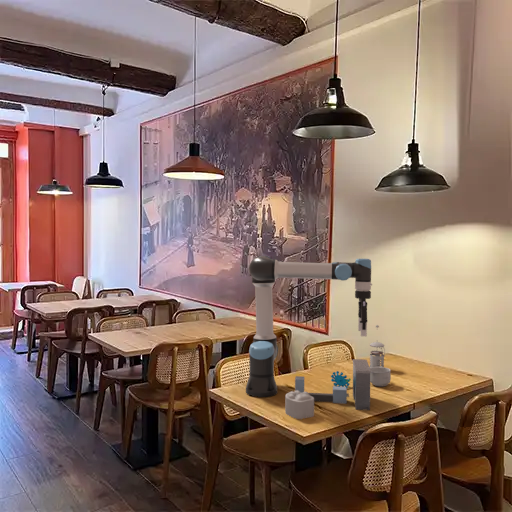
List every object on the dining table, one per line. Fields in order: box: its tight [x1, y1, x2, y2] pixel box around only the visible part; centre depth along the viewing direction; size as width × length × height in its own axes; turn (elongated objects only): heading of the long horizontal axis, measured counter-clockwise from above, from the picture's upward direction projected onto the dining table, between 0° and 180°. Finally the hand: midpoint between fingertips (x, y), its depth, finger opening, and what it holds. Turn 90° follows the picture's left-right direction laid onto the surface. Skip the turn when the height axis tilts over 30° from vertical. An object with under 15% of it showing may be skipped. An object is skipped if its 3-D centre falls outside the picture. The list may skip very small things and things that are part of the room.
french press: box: [369, 324, 386, 368], centre depth 279 cm, size 10×12×25 cm
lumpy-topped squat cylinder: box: [284, 390, 315, 420], centre depth 208 cm, size 10×13×9 cm
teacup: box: [370, 366, 392, 387], centre depth 250 cm, size 14×11×8 cm
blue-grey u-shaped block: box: [294, 375, 350, 404], centre depth 224 cm, size 24×5×10 cm, turn 83°
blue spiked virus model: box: [330, 370, 352, 390], centre depth 245 cm, size 11×6×10 cm
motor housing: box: [352, 358, 371, 411], centre depth 222 cm, size 6×20×17 cm, turn 172°
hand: (362, 333), depth 241 cm, fingers open, 13 cm apart
